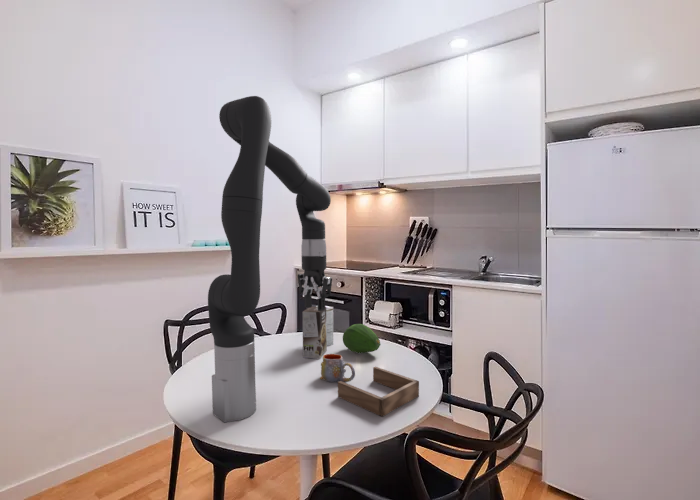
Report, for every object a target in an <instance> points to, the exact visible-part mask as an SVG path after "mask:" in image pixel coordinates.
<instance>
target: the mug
mask: <svg viewBox="0 0 700 500" xmlns="http://www.w3.org/2000/svg"><path fill="white" fill-rule="evenodd" d="M320 366H321V367H320V368H321V370H320V374H321V376H320V377H319V379H320V380H323V381H325V382H329V383H336V382H337V383H338V382H339V381H342V382H345V383H349V382H351V381H353V380H354V379H355V376H356V370H355V367H354V366H353V365H352V364H351V363H349V362H345V363H344V358H343V356H342V355H341V354H336V353H329V354H327V353H326V354H323V356H322V361H321V362H320ZM346 366H348V367H349V368H350V370H351V374H350V375H351V376H350V377H346V376H345V373H346V372H347V369H346Z"/></svg>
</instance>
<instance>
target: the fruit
mask: <svg viewBox="0 0 700 500" xmlns="http://www.w3.org/2000/svg"><path fill="white" fill-rule="evenodd" d="M342 342H343V344H344V346H345V347H346V348H347V349H348V350H349V351H350V352H353V353H356V354H365V353H366V354H367V353H371V352H376V351H378V350H379V348H380V346H381V341H380V339H379V337H378V336H377V334H376V333H375V332H374V331H373V330H372V329H371V327H368V326H367V325H365V324H363V323H355V324H352V325H350V326H348V327H347V328H346V329H345V331H344V332H343V334H342Z"/></svg>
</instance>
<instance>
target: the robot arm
mask: <svg viewBox="0 0 700 500" xmlns="http://www.w3.org/2000/svg"><path fill="white" fill-rule="evenodd" d="M218 114H219V122H220V123H219V124H220V125H221V128H222V129H223V131H224V132H225V134H226V135H228V136H229V138H231V139H232V140H233V141H234V142H236V143H237V144H238V145H240V147H239V148H240V150H239V153H238V157H237V159H236V162H235V164H234V166H233V168H232V170H231V171H230V174H229V175H228V178H227V179H226V182H225V184H224V187H223V190H222V197H221V199H222V201H221V213H220V216H221V217H220V218H221V224H222V228H223V230H224V233H225V237H226V238H227V241H228V242H227V243H228V244H229V247H230V252H231V253H230V254H231V265H230V266H231V267H230V273H229V274H227V273H226V274H225V273H224V274H220V275H219V276H217V277H215V278H214V279H213V280H212V282H211V283H210V285H209V289H208V292H207V309H208V320H209V321H208V322H209V330H210V332H211V335H212V336H213V344H214V348H213V349H214V353H213V354H214V374H212V375H211V397H212V399H211V401H212V414H213V415H214V416H215V417H216V418H218V419H219V420H220V421H222V422H223V423H228V422H232V421H239V420H243V419H246V418H248V417H251V416H252V415H253V414H255V412H256V410H257V396H256V395H257V392H256V390H257V389H256V388H257V387H256V360H255V359H256V355H255V350H256V349H255V330H254V329H253V327H252V326H251V325H250V324H249V323H248V322H247V320H246V318H245V317H247V316H249V315H251V314H252V313H253V312H254V311H255V310H256V309H257V307H258V304H259V301H260V296H261V274H260V273H261V271H260V245H261V244H260V243H261V225H262V224H261V223H262V215H263V204H264V203H263V201H264V196H263V195H264V192H263V191H264V181H265V170H266V168H267V169H268V170H270V171H271V172H272V173H273V174H274V175H275V177H277V179H278V180H279V181H280V182H281V183H282V184H283V185H284V186H285V188H287V190H288V191H289V192H290V193H293V194H295V195H296V197H295V205H296V210H297V213H298V216H299V222H300V223H301V239H302V240H301V270H303V273H298V274H297V284H298V291H299V293H300V294H302V295H303V297H304V299H303V302H304V308H306V309H307V308H310V307H313V306H312V305H313V304H312V301H313V298H312V297H313V296H312V293H313V291H314V292H316V295H317V306H318V311H323V310H325V306H326V299H327V298H328V297H331V293H332V286H333V285H332V284H333V277H332V276H326V273H325V270H327V242H326V223H325V221H324V220H322V219H319V218H316V217H315V214H314V212H322V211H325V210H328V208H329V207H330V205H331V201H332V200H331V195H330V192H329V191H328V188H326V186H324V185H323V184H322V183H320V182H319V181H317V180H316V179H315V178H313V176H311V175H309V174H308V173H307V171H306V170H305V169H304V168H303V166H302V165H301V164H300V162H298V161H297V160H296V159H295V157H293V156H292V155H290V154H289V153H288V152H286V151H284V150H283V149H281V148H279V147H278V146H277V145H274V143H271V142H270V137H271V129H272V114H271V109H270V107H269V105H268V103H267V102H266V100H265V99H264V98H262V97H261V96H258V95H251V96H246V97H242V98H237V99H234V100H231V101H229V102H226V103H224V104H223V106H221V108H220V110H219V113H218Z"/></svg>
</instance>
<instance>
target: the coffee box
mask: <svg viewBox="0 0 700 500" xmlns="http://www.w3.org/2000/svg"><path fill="white" fill-rule="evenodd" d="M327 348H328V346H327V328H326V307H325V310H323V311H318V307H316V306H312V307H310V308H306V309H304V310H302V358H305V359H306V358H307V359H317V360H319V359H321V358H323V356H324V355H325V353H326V352H327V351H328V349H327Z"/></svg>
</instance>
